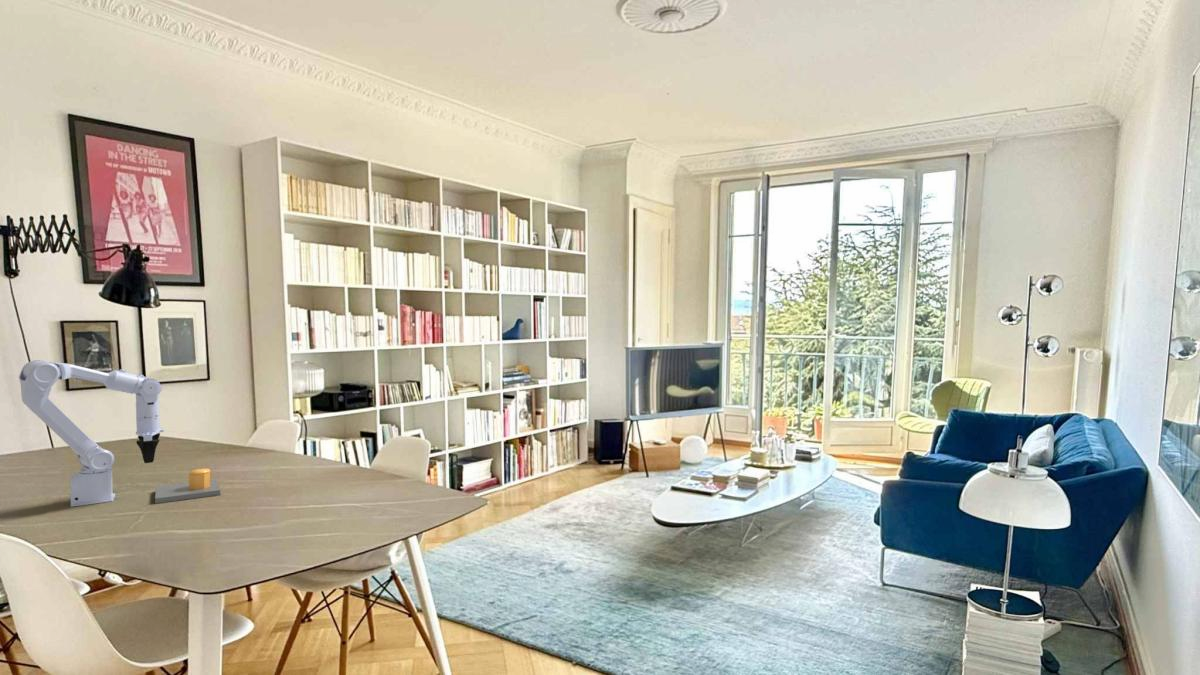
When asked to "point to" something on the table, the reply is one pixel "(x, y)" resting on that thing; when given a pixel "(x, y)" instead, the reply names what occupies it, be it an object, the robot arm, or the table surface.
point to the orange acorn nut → (199, 479)
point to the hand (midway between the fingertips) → (149, 459)
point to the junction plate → (184, 492)
